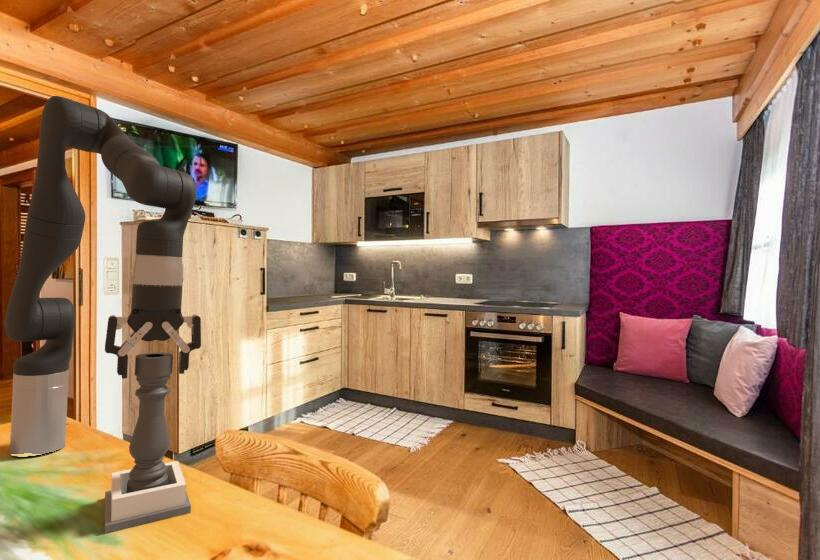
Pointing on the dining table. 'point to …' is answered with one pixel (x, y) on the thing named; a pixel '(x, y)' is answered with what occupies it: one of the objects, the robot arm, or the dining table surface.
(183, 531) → the dining table surface
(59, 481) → the dining table surface
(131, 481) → the candle holder
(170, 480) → the socket dock
